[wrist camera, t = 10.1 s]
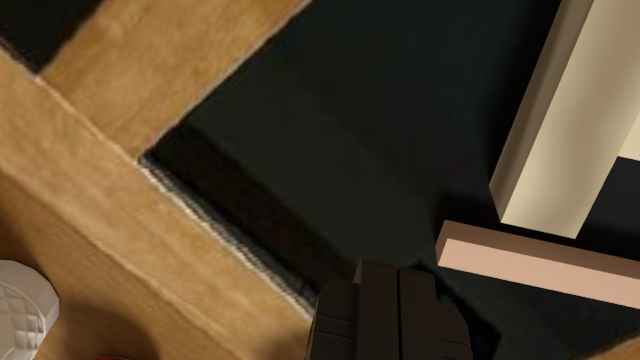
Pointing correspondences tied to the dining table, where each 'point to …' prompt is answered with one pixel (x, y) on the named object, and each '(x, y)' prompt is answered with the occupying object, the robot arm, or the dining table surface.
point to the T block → (573, 118)
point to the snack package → (108, 358)
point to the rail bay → (539, 263)
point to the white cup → (24, 310)
